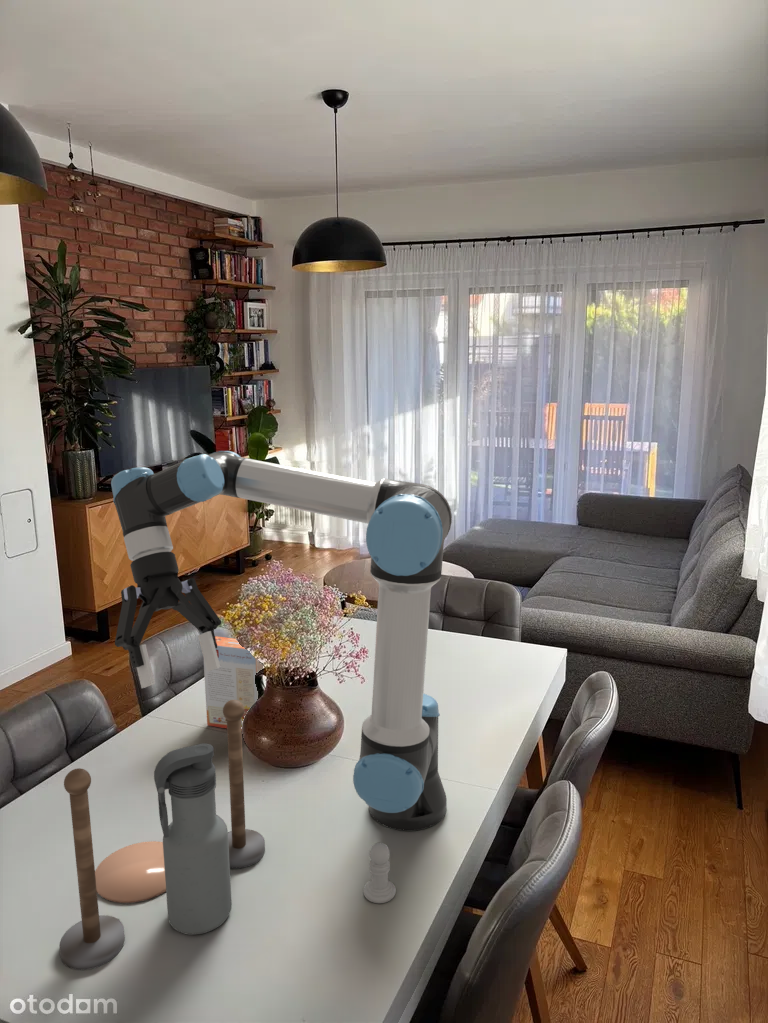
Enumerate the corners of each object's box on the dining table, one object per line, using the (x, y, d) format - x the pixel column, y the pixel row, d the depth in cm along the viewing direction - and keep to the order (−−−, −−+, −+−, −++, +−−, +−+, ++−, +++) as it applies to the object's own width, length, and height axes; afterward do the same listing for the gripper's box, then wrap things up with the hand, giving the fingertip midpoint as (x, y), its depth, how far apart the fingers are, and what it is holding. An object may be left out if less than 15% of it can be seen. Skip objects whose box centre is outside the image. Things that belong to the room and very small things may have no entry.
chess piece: (400, 901, 122) (400, 851, 120) (368, 907, 120) (367, 857, 119) (390, 879, 127) (390, 831, 125) (359, 885, 125) (359, 837, 124)
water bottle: (170, 946, 113) (158, 775, 107) (161, 903, 122) (149, 743, 116) (237, 925, 117) (229, 760, 111) (224, 886, 126) (216, 730, 120)
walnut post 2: (274, 843, 136) (270, 694, 131) (246, 874, 128) (240, 716, 123) (233, 831, 140) (226, 685, 134) (202, 860, 132) (195, 706, 126)
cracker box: (270, 723, 181) (267, 641, 177) (258, 735, 176) (255, 650, 172) (219, 715, 186) (215, 634, 182) (206, 726, 180) (201, 643, 176)
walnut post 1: (137, 934, 115) (123, 761, 109) (93, 977, 107) (75, 793, 101) (93, 917, 119) (77, 748, 113) (46, 957, 111) (27, 779, 105)
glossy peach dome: (203, 857, 133) (203, 854, 133) (144, 913, 119) (143, 910, 119) (137, 836, 139) (136, 833, 139) (73, 887, 125) (73, 884, 125)
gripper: (195, 557, 142) (224, 667, 138) (73, 569, 122) (104, 699, 118) (220, 545, 138) (251, 658, 134) (99, 555, 118) (131, 688, 114)
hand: (182, 677), depth 126 cm, fingers open, 13 cm apart
